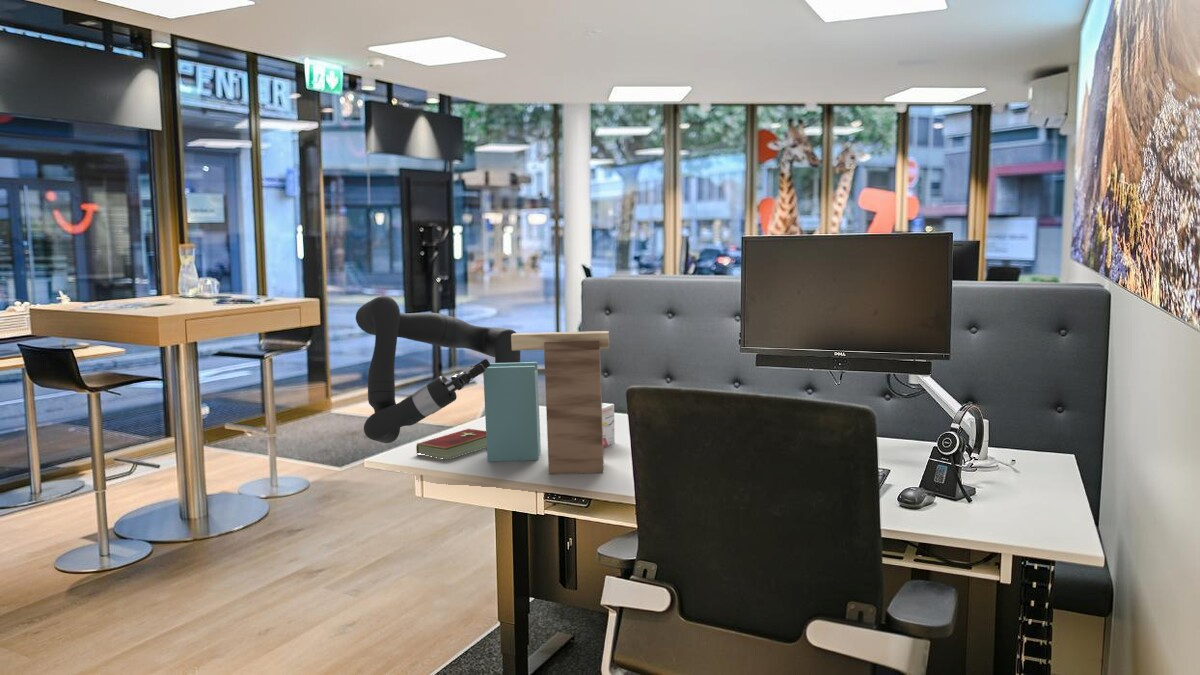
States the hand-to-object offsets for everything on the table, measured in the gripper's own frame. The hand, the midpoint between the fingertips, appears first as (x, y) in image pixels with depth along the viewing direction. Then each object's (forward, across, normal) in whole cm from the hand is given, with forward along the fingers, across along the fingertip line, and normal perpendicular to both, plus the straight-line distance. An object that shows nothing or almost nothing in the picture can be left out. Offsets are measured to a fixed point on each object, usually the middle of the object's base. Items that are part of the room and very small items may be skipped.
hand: (486, 364), depth 224 cm
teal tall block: (-10, +13, +27) cm, 32 cm away
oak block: (+19, 0, +7) cm, 20 cm away
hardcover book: (-26, +23, +19) cm, 39 cm away
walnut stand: (+5, 0, +36) cm, 36 cm away
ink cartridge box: (+10, +24, +39) cm, 47 cm away
